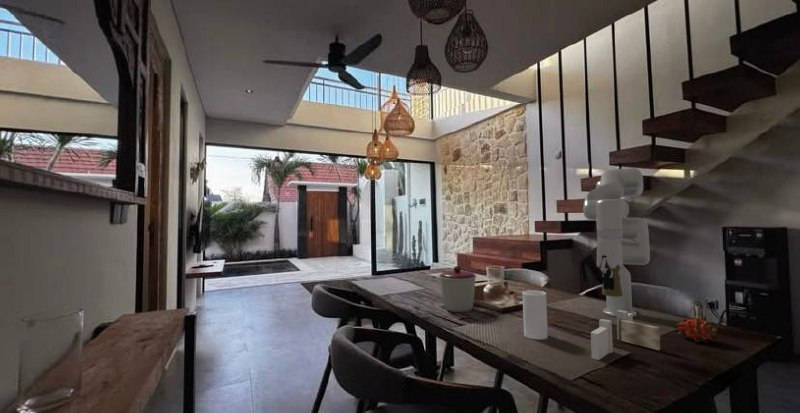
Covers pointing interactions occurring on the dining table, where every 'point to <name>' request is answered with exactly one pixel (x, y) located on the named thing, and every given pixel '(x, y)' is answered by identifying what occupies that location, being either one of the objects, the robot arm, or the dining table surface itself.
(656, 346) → the gate
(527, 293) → the cup
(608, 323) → the wall frame
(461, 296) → the canister
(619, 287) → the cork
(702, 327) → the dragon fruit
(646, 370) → the dining table surface
